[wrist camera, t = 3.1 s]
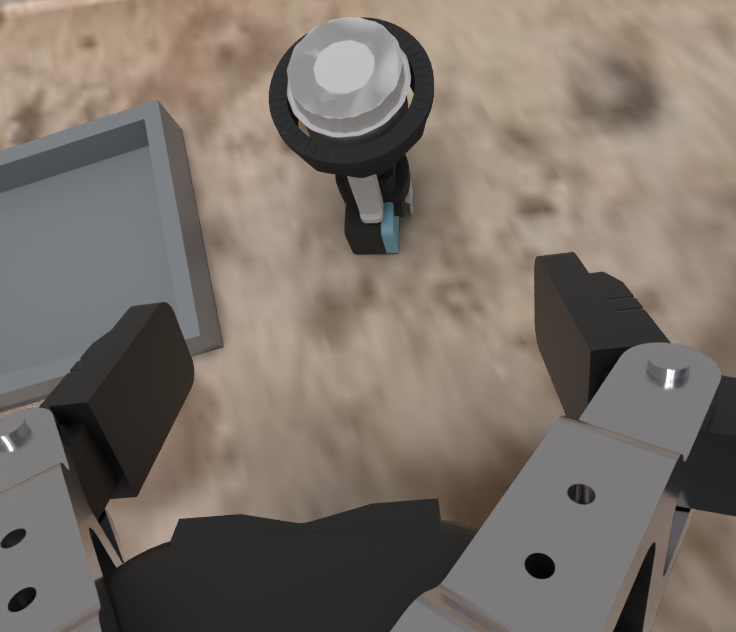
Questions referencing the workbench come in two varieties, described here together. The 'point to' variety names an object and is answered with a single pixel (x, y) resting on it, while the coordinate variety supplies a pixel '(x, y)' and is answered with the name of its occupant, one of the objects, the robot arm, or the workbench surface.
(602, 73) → the workbench surface
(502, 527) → the robot arm
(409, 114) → the push button
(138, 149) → the tray
